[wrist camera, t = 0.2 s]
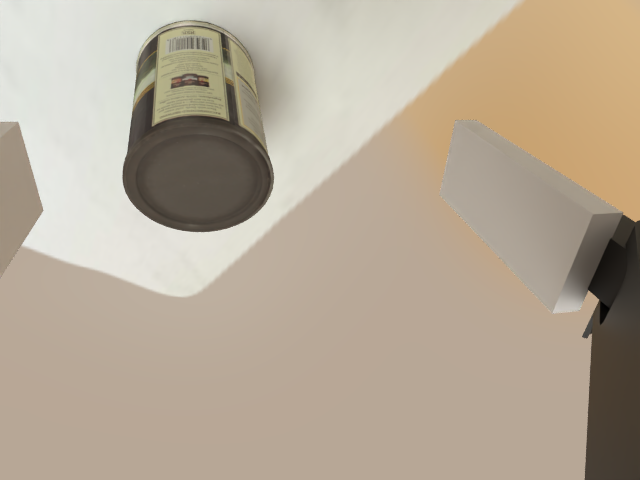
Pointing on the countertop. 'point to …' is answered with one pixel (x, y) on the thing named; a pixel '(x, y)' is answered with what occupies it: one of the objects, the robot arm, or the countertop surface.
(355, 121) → the countertop surface
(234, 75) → the coffee can
